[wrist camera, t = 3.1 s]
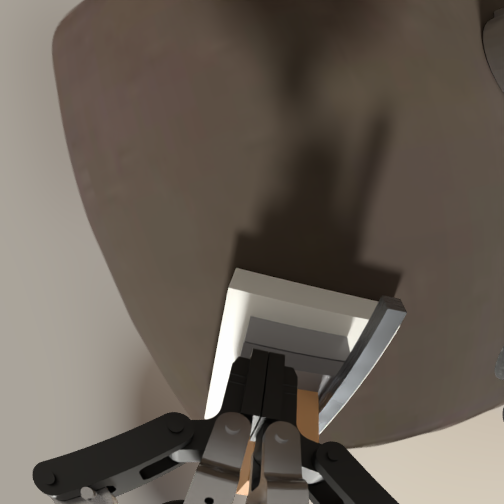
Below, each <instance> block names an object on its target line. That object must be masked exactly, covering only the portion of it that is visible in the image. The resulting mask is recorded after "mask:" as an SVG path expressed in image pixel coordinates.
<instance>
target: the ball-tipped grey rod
mask: <svg viewBox="0 0 504 504" xmlns="http://www.w3.org/2000/svg"><path fill="white" fill-rule="evenodd" d="M406 313H407V312H406V310H405V308H404V306H403V304H402V302H401V300H400V299H397V298H393V297H388V296H384V295H382V296H381V298H380V300H379V302H378V304H377V306H376V308H375V310H374V312H373V313H372V315H371V317H370V319H369V321H368V323H367V325H366V326H365V328H364V330H363V332H362V334H361V335H360V337H359V339H358V340H357V342H356V344H355V346H354V347H353V349H352V351H351V352H350V354H349V356H348V357H347V359H346V361H345V362H344V364H343V365H342V367H341V369H340V370H339V372H338V373H337V375H336V376H335V378H334V379H333V381H332V382H331V384H330V385H329V387H328V388H327V390H326V391H325V393H324V394H323V396H322V397H321V399H320V400H319V401H318V404H319V433H320V432H321V431H322V430H323V429H324V428H325V426H326V425H327V424H328V423H329V422H330V421H331V420H332V418H333V417H334V416H335V415H336V414H337V413H338V411H339V410H340V409H341V408H342V406H343V405H344V404H345V403H346V402H347V400H348V399H349V398H350V397H351V395H352V394H353V393H354V391H355V390H356V389H357V387H358V386H359V385H360V383H361V382H362V381H363V379H364V378H365V377H366V375H367V374H368V373H369V371H370V370H371V368H372V367H373V366H374V364H375V363H376V361H377V360H378V358H379V357H380V355H381V354H382V352H383V351H384V349H385V348H386V346H387V345H388V343H389V342H390V340H391V338H392V337H393V335H394V334H395V332H396V330H397V329H398V327H399V325H400V324H401V322H402V320H403V319H404V317H405V315H406Z"/></svg>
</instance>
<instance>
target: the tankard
mask: <svg viewBox="0 0 504 504" xmlns="http://www.w3.org/2000/svg"><path fill="white" fill-rule="evenodd" d="M495 375H496V377H497V378H498V379H502V380H504V347H503V349H502V350H501V352H500V354H499V357H498V359H497V361H496V366H495ZM503 420H504V408H503Z"/></svg>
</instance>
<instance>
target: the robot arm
mask: <svg viewBox="0 0 504 504" xmlns="http://www.w3.org/2000/svg"><path fill="white" fill-rule="evenodd" d="M483 43H484V50H485V54H486V57H487V61H488V63H489V66H490V69H491V71H492V73H493V75H494V77H495V79H496V81H497V83H498V85H499V86H500V88H501V90H502V91H503V93H504V8H501V9H498V10H496V11H494V18H493V19H491V20H489V21H488V22H487V23H486V25H485V27H484V31H483ZM297 386H298V376H297V374H296V372H295V370H294V368H292V367H287V366H285V355H284V354H279V353H274V352H269V353H268V351H264V350H260V349H255V348H252V351H251V355H250V358H249V359H248V358H244V357H240V356H239V357H238V358H237V359H236V360H235V361H234V362H233V363H232V367H231V371H230V374H229V378H228V382H227V386H226V390H225V394H224V398H223V402H222V406H221V409H220V411H219V413H218V414H217V415H216V416H214V417H212V418H210V419H207V420H190V419H189V418H188V417H187V416H185V415H184V414H181V413H177V412H171V413H167V414H164V415H162V416H160V417H158V418H156V419H154V420H152V421H149V422H147V423H145V424H143V425H141V426H139V427H136V428H134V429H132V430H129V431H127V432H125V433H122V434H120V435H118V436H115V437H113V438H110V439H107V440H105V441H103V442H100V443H97V444H95V445H92V446H89V447H87V448H84V449H81V450H78V451H75V452H72V453H70V454H66V455H63V456H60V457H57V458H53V459H50V460H47V461H43V462H40V463H38V464H37V465H36V466H35V467H34V469H33V480H34V483H35V485H36V486H37V487H38V488H39V489H40V490H41V491H42V492H44V493H45V494H47V495H48V496H50V497H51V498H52V500H53V501H54V503H55V504H118V501H117V499H116V496H119V495H121V494H124V493H126V492H128V491H131V490H133V489H135V488H137V487H140V486H142V485H144V484H146V483H148V482H150V481H152V480H154V479H156V478H158V477H161V476H163V475H164V474H166V473H168V472H170V471H172V470H174V469H176V468H177V467H180V466H181V465H183V464H185V463H187V462H200V463H199V465H198V467H197V470H196V472H195V475H194V478H193V480H192V483H191V485H190V488H189V490H188V493H187V495H186V498H185V500H174V501H169V502H166V503H163V504H232V503H233V500H234V497H235V493H236V490H237V486H238V483H239V479H240V470H241V466H242V463H243V459H244V456H245V452H246V448H247V445H248V441H249V438H250V441H253V442H255V448H254V451H253V453H252V455H251V466H250V480H249V492H248V496H247V499H246V504H309V499H310V500H311V502H312V503H313V504H399V503H397V501H396V500H395V499H394V498H392V497H391V495H390V494H389V493H388V492H387V491H386V490H385V489H384V488H383V487H382V486H381V485H380V484H379V483H378V482H377V481H376V480H375V479H374V478H373V477H372V476H371V475H370V474H369V473H368V472H367V471H366V470H365V469H364V468H363V466H362V465H361V464H360V463H359V462H358V461H357V460H356V459H355V458H354V457H353V456H352V455H351V454H350V452H349V451H348V450H347V449H346V448H345V447H344V446H343V445H341V444H340V443H337V442H326V443H324V444H320V443H317V442H315V441H312V440H310V439H308V438H306V437H304V436H303V435H302V434H301V433H300V431H299V430H298V428H297V422H296V421H297Z"/></svg>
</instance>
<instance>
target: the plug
mask: <svg viewBox="0 0 504 504" xmlns="http://www.w3.org/2000/svg"><path fill="white" fill-rule="evenodd" d="M252 348H255V349H260V350H264V351H268V353H269V352H274V353H279V354H284V355H285V366H287V367H292V368H294V370H295V372H296V374H297V376H298V386H297V421H296V422H297V428H298V430H299V431H300V433H301V434H302V435H303V436H304V437H306V438H308V439H310V440H312V441H315V442H317V443H319V404H318V401H319V400H320V399H321V397H322V396H323V394H324V393H325V391H326V390H327V388H328V387H329V385H330V384H331V382H332V381H333V379H334V378H335V376H336V375H337V373H338V372H339V370H340V369H341V367H342V365H343V364H344V362H339V361H333V360H327V359H321V358H316V357H310V356H305V355H300V354H295V353H290V352H285V351H280V350H275V349H271V348H266V347H262V346H258V345H253V344H249V343H245V342H244V343H243V347H242V350H241V354H240V357H244V358H248V359H249V358H250V355H251V351H252ZM254 448H255V442H253V441H250V438H249V441H248V445H247V448H246V452H245V456H244V459H243V463H242V466H241V471H240V479H239V483H238V486H237V491H236V494H241V495H247V496H248V492H249V480H250V466H251V455H252V453H253V451H254Z"/></svg>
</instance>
